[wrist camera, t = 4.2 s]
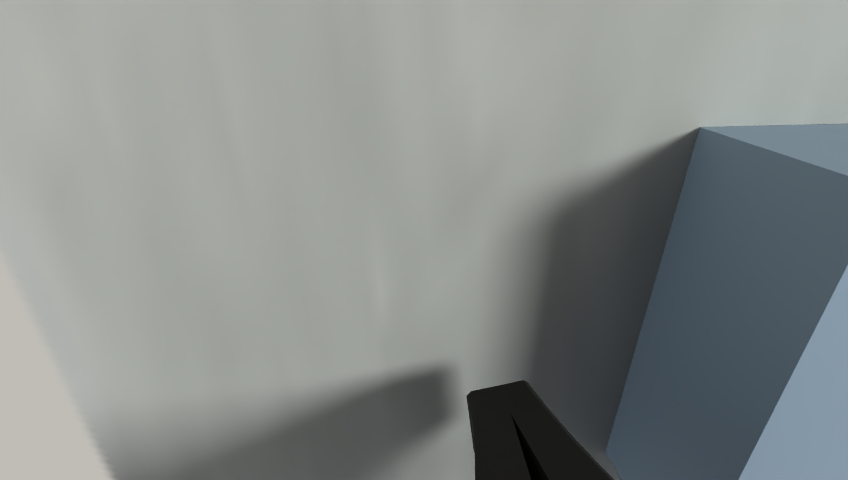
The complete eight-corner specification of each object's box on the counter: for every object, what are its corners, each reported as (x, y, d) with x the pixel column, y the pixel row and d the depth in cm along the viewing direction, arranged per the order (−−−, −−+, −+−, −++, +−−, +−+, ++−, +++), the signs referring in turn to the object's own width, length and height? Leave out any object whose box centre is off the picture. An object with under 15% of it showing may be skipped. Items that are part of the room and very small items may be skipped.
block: (600, 443, 14) (682, 588, 10) (689, 123, 10) (886, 188, 6) (823, 417, 15) (966, 541, 12) (998, 116, 11) (1324, 168, 7)
